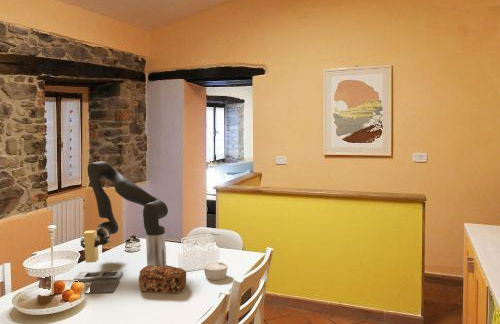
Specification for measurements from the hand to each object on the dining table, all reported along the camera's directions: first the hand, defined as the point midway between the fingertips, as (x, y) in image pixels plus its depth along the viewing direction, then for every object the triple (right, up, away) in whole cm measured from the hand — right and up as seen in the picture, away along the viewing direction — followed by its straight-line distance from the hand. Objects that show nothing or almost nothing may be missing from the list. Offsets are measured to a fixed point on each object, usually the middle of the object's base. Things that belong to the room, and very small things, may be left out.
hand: (89, 245), depth 199 cm
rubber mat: (+9, -17, -8) cm, 21 cm away
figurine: (-13, -18, -14) cm, 26 cm away
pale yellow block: (0, -8, +3) cm, 8 cm away
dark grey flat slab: (+3, -16, +5) cm, 17 cm away
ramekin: (+58, -16, +5) cm, 60 cm away
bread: (+36, -17, -9) cm, 41 cm away
